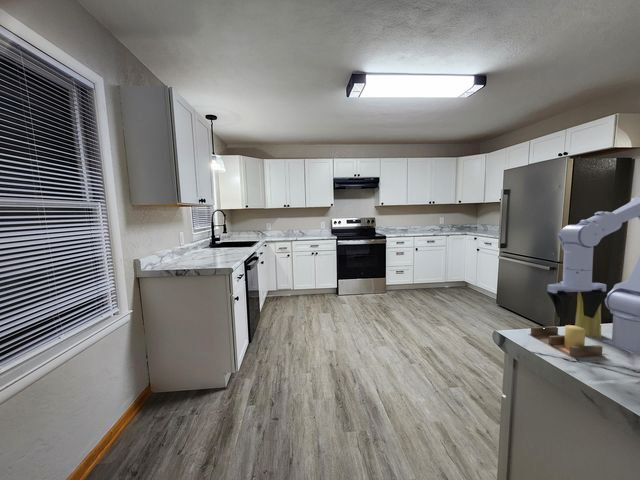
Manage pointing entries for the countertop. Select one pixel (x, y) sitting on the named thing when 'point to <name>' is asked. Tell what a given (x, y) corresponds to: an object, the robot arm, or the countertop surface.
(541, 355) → the countertop surface
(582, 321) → the vase
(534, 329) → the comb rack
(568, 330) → the peg
